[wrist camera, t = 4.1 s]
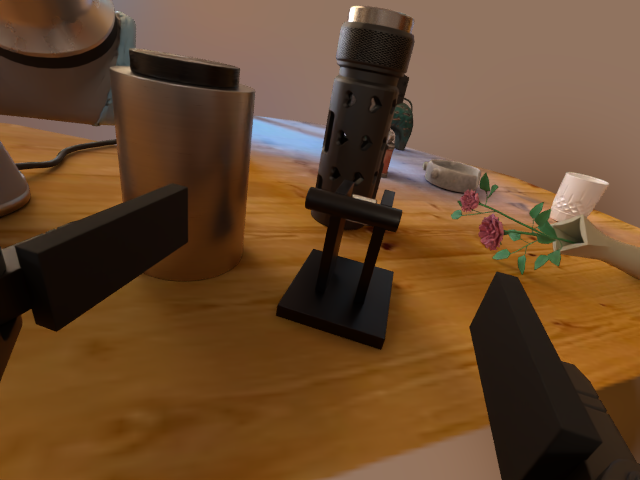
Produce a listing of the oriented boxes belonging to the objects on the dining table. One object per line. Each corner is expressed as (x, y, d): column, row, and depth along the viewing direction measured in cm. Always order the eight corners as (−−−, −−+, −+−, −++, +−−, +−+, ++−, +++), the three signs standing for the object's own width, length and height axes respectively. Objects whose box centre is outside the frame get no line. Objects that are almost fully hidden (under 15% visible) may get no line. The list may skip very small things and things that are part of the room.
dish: (472, 184, 91) (479, 166, 89) (482, 200, 79) (491, 179, 77) (419, 172, 93) (424, 154, 91) (420, 185, 81) (427, 165, 79)
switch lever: (394, 240, 20) (405, 202, 20) (301, 215, 21) (310, 178, 21) (389, 230, 32) (396, 205, 32) (330, 214, 33) (336, 190, 33)
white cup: (570, 228, 71) (596, 183, 67) (537, 213, 77) (558, 171, 73) (591, 227, 74) (617, 185, 70) (558, 212, 81) (579, 172, 76)
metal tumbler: (206, 294, 32) (212, 68, 23) (100, 260, 34) (67, 38, 25) (258, 243, 43) (276, 73, 34) (175, 218, 45) (171, 52, 36)
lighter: (371, 167, 89) (380, 128, 84) (383, 169, 89) (393, 130, 84) (375, 175, 81) (386, 133, 77) (388, 178, 82) (400, 136, 77)
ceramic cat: (356, 145, 111) (371, 79, 102) (349, 141, 116) (363, 77, 107) (408, 151, 118) (426, 90, 108) (399, 147, 123) (416, 87, 114)
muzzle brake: (360, 208, 60) (304, 203, 57) (405, 25, 47) (336, 8, 45) (380, 233, 52) (315, 229, 49) (441, 21, 39) (358, 0, 37)
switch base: (381, 350, 30) (422, 231, 24) (275, 315, 31) (293, 197, 26) (390, 280, 40) (421, 187, 35) (311, 257, 42) (329, 165, 37)
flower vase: (619, 326, 54) (452, 280, 42) (574, 268, 63) (425, 215, 51) (703, 285, 47) (528, 214, 35) (639, 225, 55) (481, 151, 43)
